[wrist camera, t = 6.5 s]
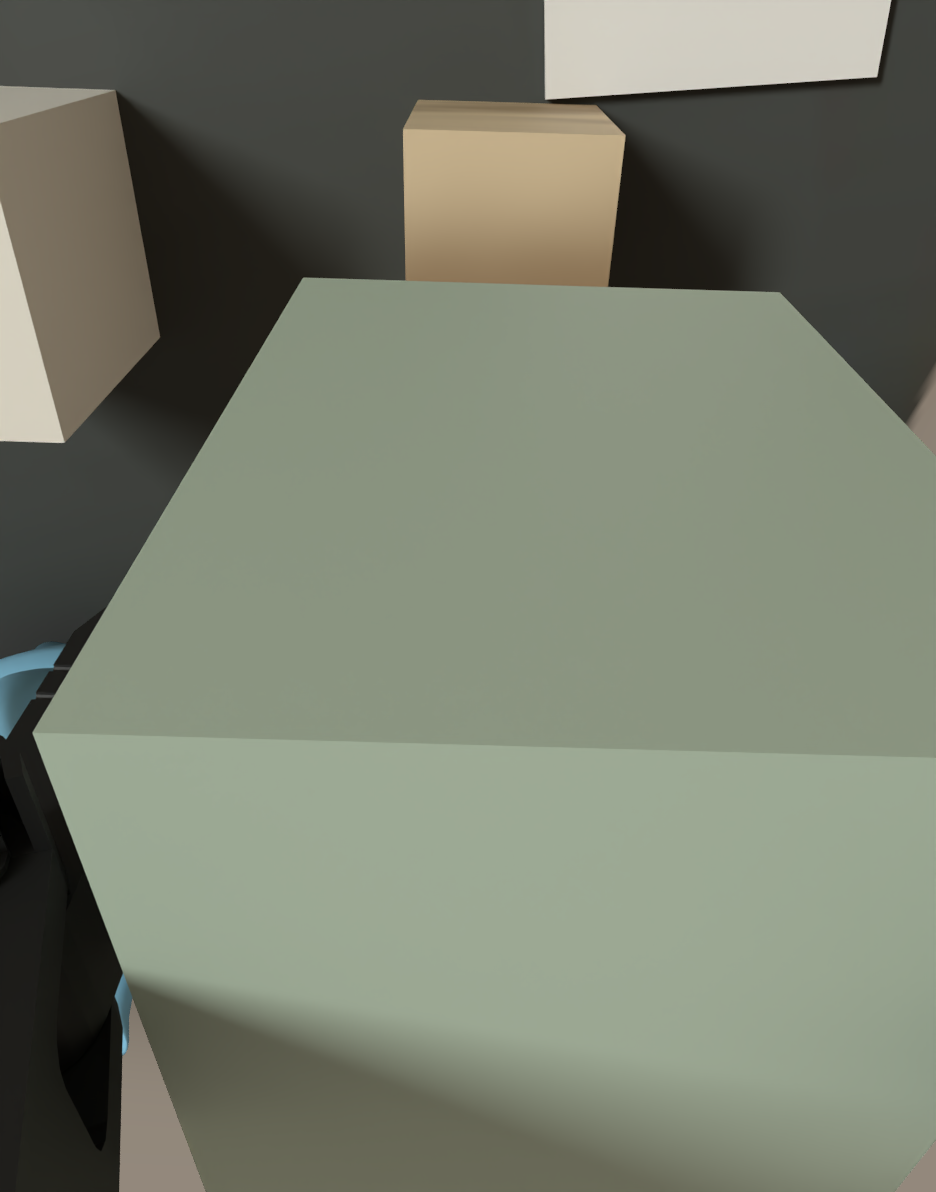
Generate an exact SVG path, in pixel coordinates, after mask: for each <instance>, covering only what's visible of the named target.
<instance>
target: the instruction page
mask: <svg viewBox="0 0 936 1192" xmlns="http://www.w3.org/2000/svg"><path fill="white" fill-rule="evenodd" d="M890 4H891V0H544V43H545V99H561V98H576V97H590V96H605V95H620V94H634V93H649V92H664V91H678V90H693V89H708V88H723V87H737V86H752V85H767V84H781V83H796V82H811V81H825V80H840V79H855V78H869V77H877V74H878V69H879V63H880V58H881V53H882V47H883V42H884V37H885V31H886V26H887V20H888V15H889V10H890Z"/></svg>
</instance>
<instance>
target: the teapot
mask: <svg viewBox="0 0 936 1192" xmlns="http://www.w3.org/2000/svg"><path fill="white" fill-rule="evenodd" d="M65 645H66V644H63V643H59V642H45V643H42V644H40V645H38V646H37V647H36V648H35V649H34V650H30V651H26V652H23V653H19V654H15V655H12V656H9V657H6V658H3V659H0V735H1V736H3V737H4V738H5V739H7V737H8V736H9V734H10V732H11V731H12V729H13V728H14V726H15V724H16V723H17V721H18V720H19V718H20V717H21V715H22V713H23V712H24V710H25V709H26V707H27V705H28V704H29V702H30V701H31V699H36V691H37V690H38V688H39V686H40V685H41V683H42V682H43V680H44V679H45V677H46V675H47V674H48V672H49V671H53V669H54V665H53V664H54V663H55V661H56V660H57V658H58V656H59V655H60V653H61V652H62V650H63V648H64V647H65ZM115 998H116V1001H117V1003H118V1007H119V1012H120V1017H121V1021H122V1026H123V1043H122V1056H123V1055H124V1054H125V1053H126V1051H127V1048H128V1043H129V1014H130V1008H131V1002H132V995H131V992H130V990H129V987H128V984H127V982H126V979H125V976H124V974H123V975H122V977H121V980H120V983H119V986H118V988H117V991H116V994H115Z"/></svg>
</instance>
